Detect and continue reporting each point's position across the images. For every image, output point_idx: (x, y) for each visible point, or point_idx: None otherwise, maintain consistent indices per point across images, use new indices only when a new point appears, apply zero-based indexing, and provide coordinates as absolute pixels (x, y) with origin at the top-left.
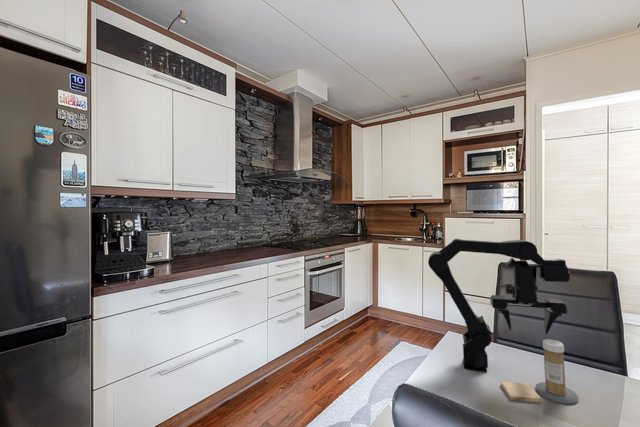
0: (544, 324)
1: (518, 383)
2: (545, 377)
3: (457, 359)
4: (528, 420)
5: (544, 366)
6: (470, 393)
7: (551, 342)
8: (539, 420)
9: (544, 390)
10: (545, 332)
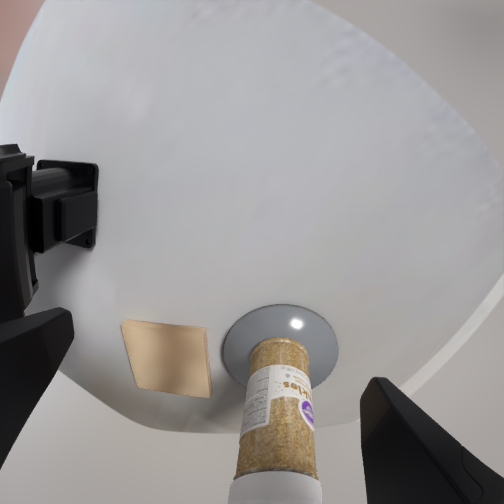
0: (403, 439)
1: (171, 335)
2: (247, 385)
3: None
4: (164, 429)
5: (244, 411)
6: None
7: None
8: (185, 430)
9: (245, 356)
10: (360, 413)
